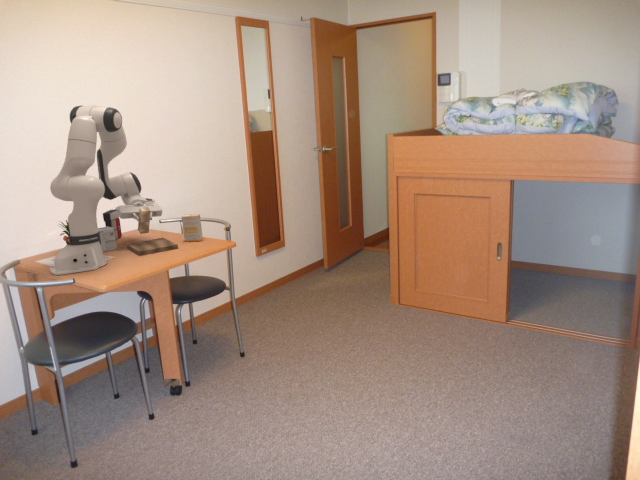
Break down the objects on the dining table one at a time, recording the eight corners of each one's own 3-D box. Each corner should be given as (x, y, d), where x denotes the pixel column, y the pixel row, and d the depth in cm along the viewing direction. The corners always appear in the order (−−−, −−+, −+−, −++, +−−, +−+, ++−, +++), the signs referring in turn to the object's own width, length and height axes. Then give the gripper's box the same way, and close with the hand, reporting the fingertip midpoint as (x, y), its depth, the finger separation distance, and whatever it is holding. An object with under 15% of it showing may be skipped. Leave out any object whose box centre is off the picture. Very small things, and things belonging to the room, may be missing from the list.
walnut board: (140, 255, 246) (139, 251, 246) (127, 248, 262) (126, 244, 262) (178, 248, 256) (177, 244, 256) (163, 241, 272) (162, 237, 272)
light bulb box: (111, 247, 266) (108, 225, 263) (117, 249, 261) (114, 227, 258) (89, 252, 259) (86, 229, 256) (95, 254, 254) (92, 231, 251)
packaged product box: (115, 241, 277) (110, 213, 274) (106, 242, 277) (102, 213, 274) (122, 236, 288) (119, 209, 284) (114, 237, 288) (110, 209, 285)
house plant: (49, 254, 257) (43, 221, 253) (68, 247, 270) (63, 215, 266) (75, 255, 254) (70, 220, 250) (93, 247, 267) (88, 215, 263)
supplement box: (203, 239, 273) (200, 213, 270) (200, 241, 268) (197, 215, 265) (187, 239, 274) (184, 214, 271) (184, 241, 269) (181, 216, 266)
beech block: (140, 233, 258) (142, 211, 252) (137, 229, 260) (139, 207, 255) (148, 233, 260) (150, 210, 254) (146, 228, 263) (148, 207, 257)
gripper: (114, 201, 258) (122, 214, 249) (157, 199, 270) (166, 212, 261) (114, 212, 261) (122, 226, 252) (156, 210, 273) (165, 223, 264)
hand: (144, 219), depth 256 cm, fingers closed on beech block, 4 cm apart
